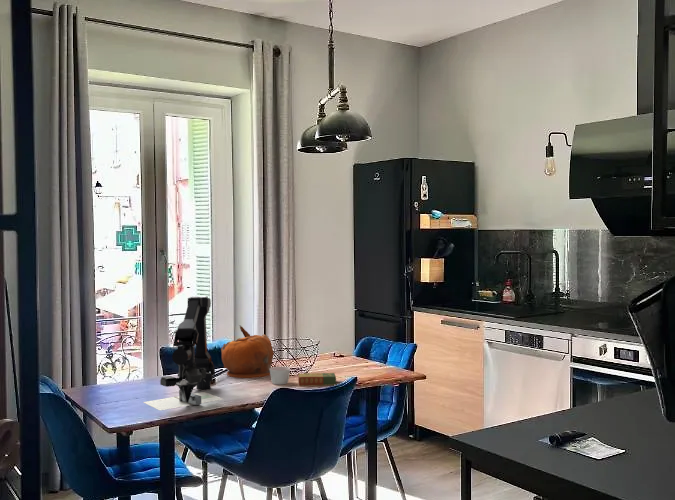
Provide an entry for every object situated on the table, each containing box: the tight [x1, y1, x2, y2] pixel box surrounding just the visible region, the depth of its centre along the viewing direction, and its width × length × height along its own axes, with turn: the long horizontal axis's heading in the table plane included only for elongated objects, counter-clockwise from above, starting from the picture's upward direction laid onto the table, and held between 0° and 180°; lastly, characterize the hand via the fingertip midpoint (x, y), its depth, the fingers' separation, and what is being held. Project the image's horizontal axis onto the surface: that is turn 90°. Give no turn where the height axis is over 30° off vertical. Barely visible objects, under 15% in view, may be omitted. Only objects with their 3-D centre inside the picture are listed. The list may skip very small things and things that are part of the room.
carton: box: [297, 372, 337, 387], centre depth 293 cm, size 8×16×4 cm, turn 95°
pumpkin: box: [220, 324, 275, 379], centre depth 316 cm, size 22×25×23 cm
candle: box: [269, 366, 291, 385], centre depth 295 cm, size 9×9×6 cm
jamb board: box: [142, 391, 224, 411], centre depth 261 cm, size 16×26×1 cm, turn 128°
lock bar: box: [178, 389, 202, 406], centre depth 257 cm, size 13×3×4 cm, turn 43°
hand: (186, 402), depth 253 cm, fingers closed
